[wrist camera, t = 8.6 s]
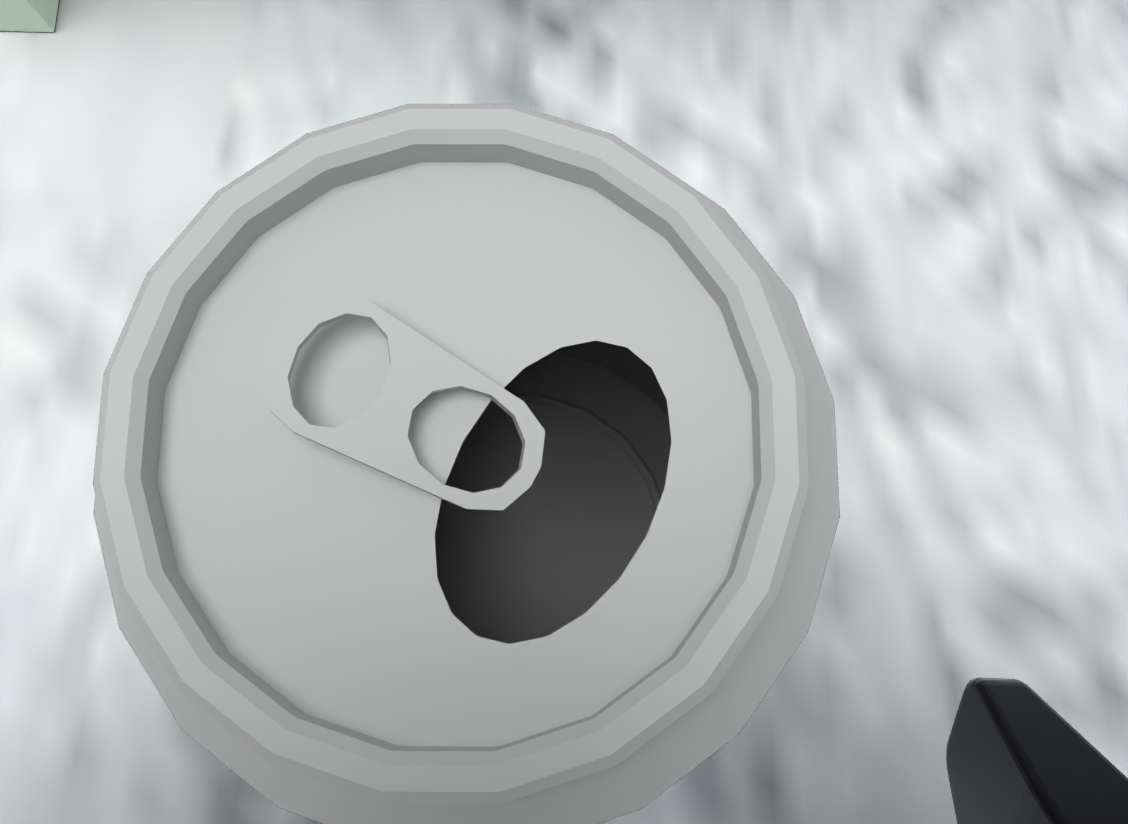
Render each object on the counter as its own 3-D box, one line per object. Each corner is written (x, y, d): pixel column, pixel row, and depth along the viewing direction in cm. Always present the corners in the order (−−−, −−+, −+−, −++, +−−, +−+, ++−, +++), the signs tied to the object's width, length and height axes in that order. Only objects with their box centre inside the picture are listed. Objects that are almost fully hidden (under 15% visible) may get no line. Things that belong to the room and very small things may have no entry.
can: (601, 817, 20) (648, 1086, 8) (253, 628, 20) (-175, 616, 9) (772, 462, 21) (1029, 241, 9) (441, 296, 22) (289, -102, 10)
